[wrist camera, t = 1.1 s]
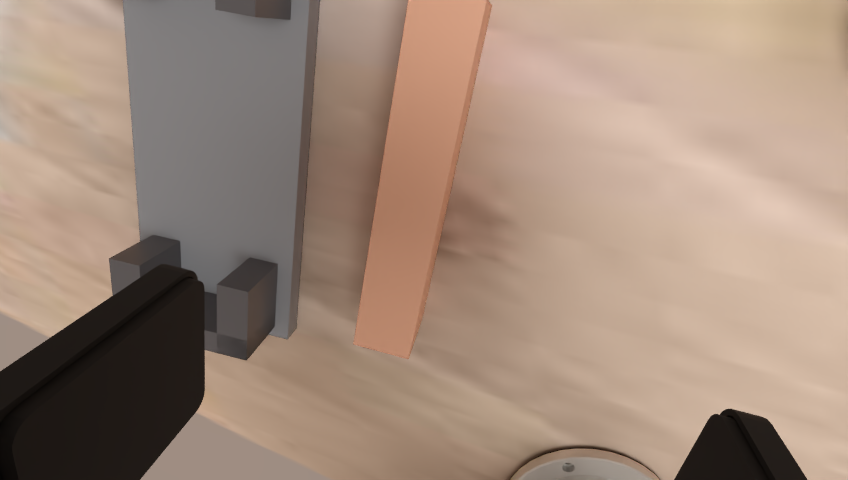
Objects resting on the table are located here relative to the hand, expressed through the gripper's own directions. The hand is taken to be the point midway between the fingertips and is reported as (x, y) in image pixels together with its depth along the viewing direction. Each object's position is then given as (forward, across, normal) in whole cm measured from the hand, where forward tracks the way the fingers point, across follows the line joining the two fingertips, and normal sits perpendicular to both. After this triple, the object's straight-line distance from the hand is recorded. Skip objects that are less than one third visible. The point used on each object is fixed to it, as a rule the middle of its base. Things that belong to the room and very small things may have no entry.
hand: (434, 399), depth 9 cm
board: (+22, +16, +3) cm, 28 cm away
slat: (+22, +3, +3) cm, 23 cm away
